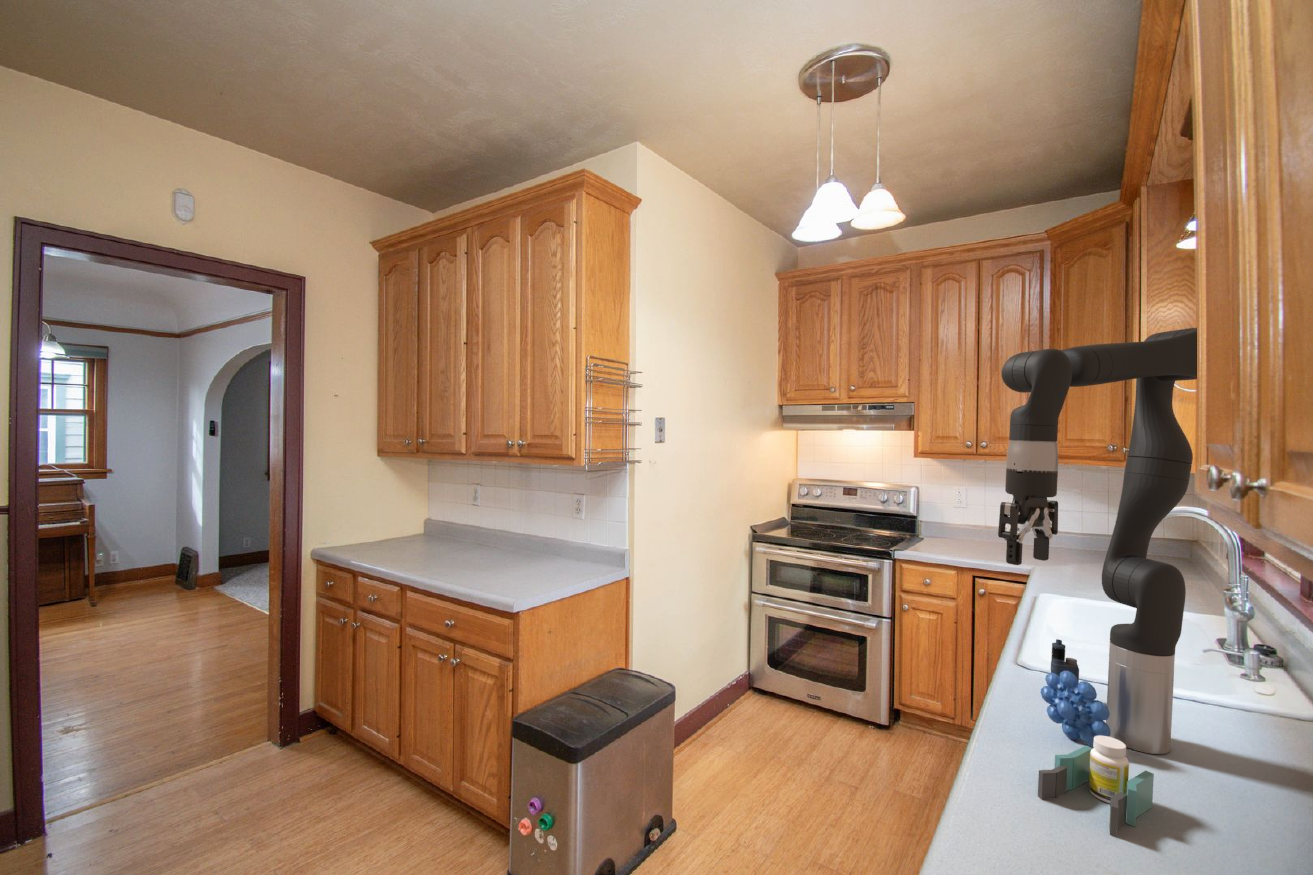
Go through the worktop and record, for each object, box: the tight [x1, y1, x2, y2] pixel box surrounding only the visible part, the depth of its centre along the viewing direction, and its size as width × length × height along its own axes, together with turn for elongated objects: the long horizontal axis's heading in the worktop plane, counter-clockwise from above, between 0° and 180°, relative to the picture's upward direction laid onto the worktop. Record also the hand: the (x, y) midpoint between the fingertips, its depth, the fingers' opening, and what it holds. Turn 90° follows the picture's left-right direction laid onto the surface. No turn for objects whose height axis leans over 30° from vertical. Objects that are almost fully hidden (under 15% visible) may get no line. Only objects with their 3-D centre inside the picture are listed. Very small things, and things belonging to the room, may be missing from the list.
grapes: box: [1040, 671, 1111, 747], centre depth 109 cm, size 12×7×12 cm, turn 28°
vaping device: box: [1050, 638, 1080, 683], centre depth 127 cm, size 3×5×12 cm, turn 82°
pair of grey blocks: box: [1037, 765, 1127, 838], centre depth 88 cm, size 5×10×4 cm, turn 31°
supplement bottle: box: [1088, 735, 1130, 804], centre depth 92 cm, size 5×5×8 cm
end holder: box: [1054, 745, 1155, 827], centre depth 92 cm, size 9×11×5 cm
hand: (1027, 561), depth 103 cm, fingers open, 8 cm apart
